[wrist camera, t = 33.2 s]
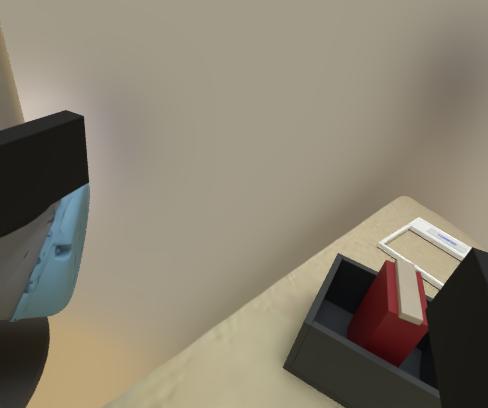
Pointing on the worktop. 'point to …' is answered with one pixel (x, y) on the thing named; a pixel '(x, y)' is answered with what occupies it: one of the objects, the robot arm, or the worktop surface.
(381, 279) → the block
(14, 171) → the robot arm
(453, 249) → the photo frame
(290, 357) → the bin
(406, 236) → the worktop surface
